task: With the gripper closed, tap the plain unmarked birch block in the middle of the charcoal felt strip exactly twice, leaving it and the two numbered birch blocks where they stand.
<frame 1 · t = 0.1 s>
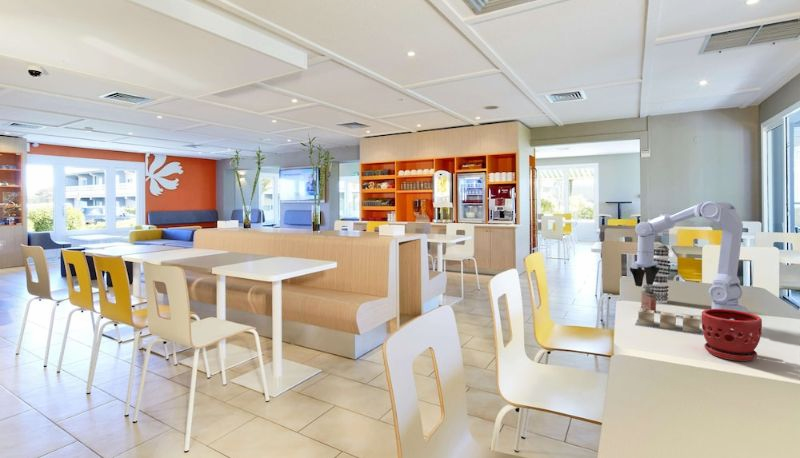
hand: (644, 285, 166), 10 cm above the table, tool pointing down, fingers open, 7 cm apart
decorative candle: (656, 301, 183), on the table
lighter: (648, 311, 165), on the table
plant pot: (728, 356, 115), on the table
felt strip: (667, 327, 142), on the table
block one: (690, 330, 138), resting on felt strip
block seven: (645, 323, 145), resting on felt strip
plain block: (667, 326, 142), resting on felt strip
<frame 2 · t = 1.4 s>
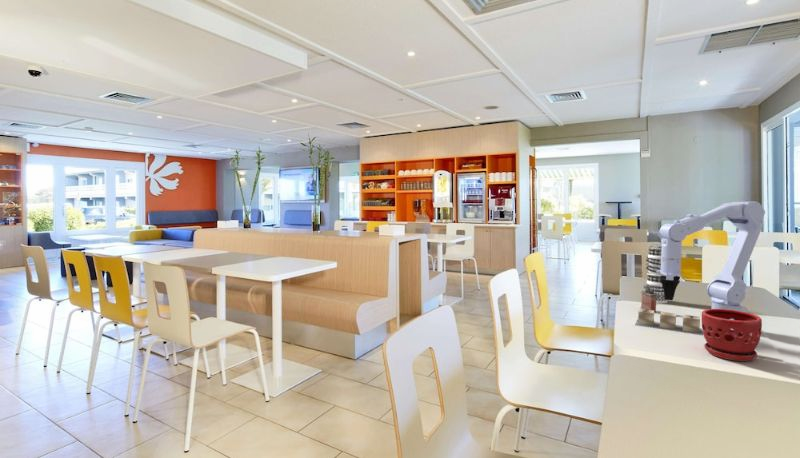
hand: (669, 298, 141), 10 cm above the table, tool pointing down, fingers open, 6 cm apart
nothing on the table moved.
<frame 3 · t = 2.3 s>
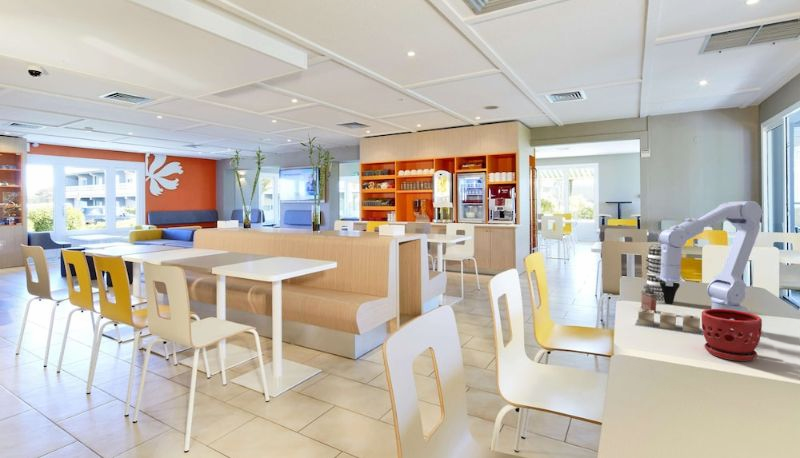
hand: (668, 303, 141), 8 cm above the table, tool pointing down, fingers closed
nothing on the table moved.
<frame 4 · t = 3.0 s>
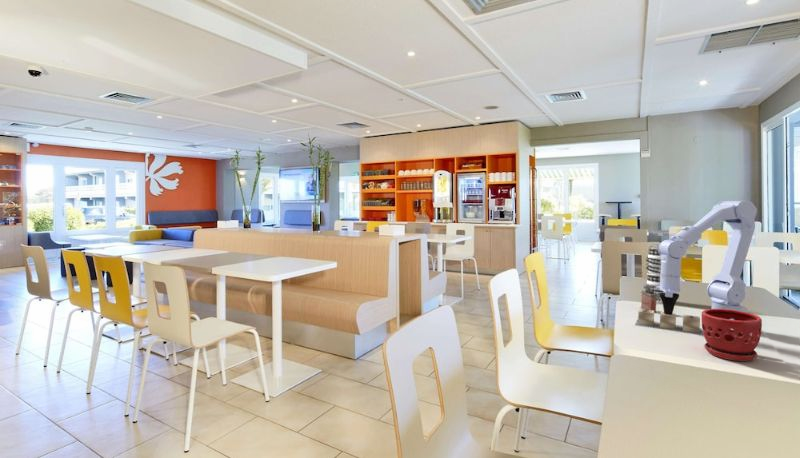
hand: (668, 314, 141), 5 cm above the table, tool pointing down, fingers closed, pressing on plain block
plain block: (667, 326, 142), resting on felt strip, touching gripper
everything else where it was.
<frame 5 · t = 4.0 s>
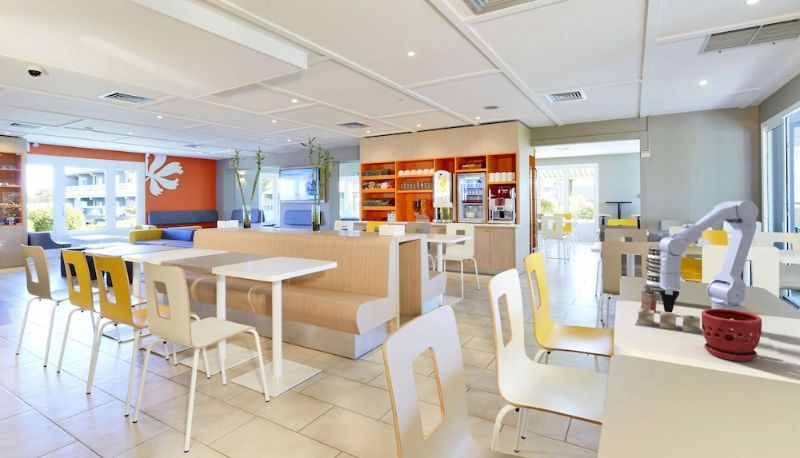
hand: (668, 311, 141), 6 cm above the table, tool pointing down, fingers closed
plain block: (667, 326, 142), resting on felt strip
everything else where it was.
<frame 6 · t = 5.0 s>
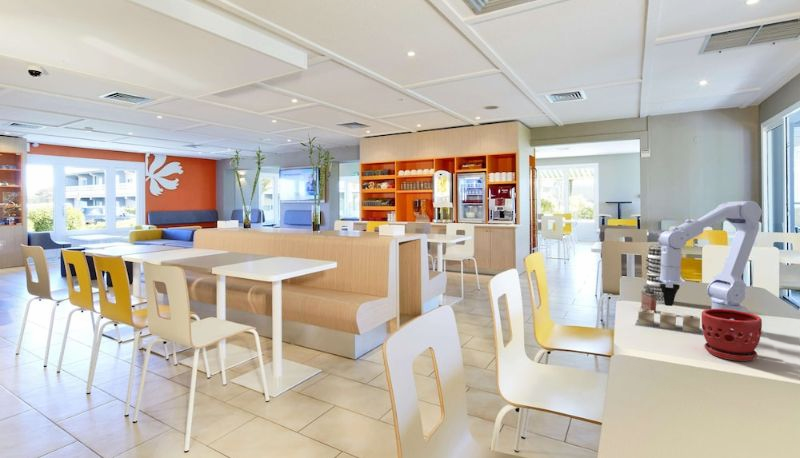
hand: (668, 305, 141), 8 cm above the table, tool pointing down, fingers closed
nothing on the table moved.
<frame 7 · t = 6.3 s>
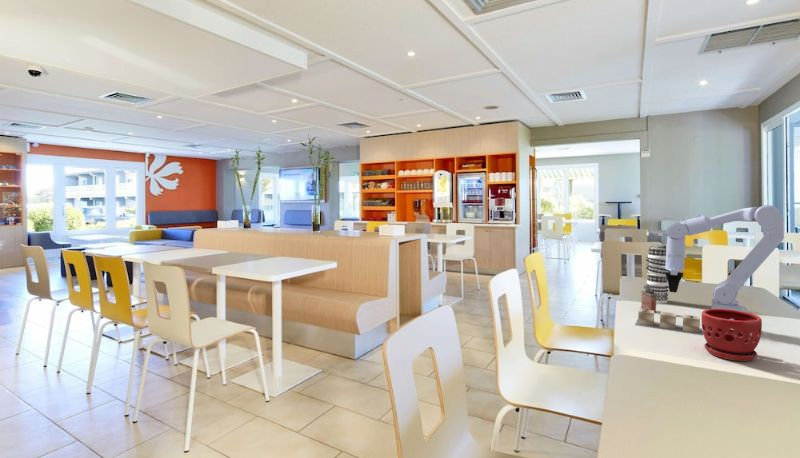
hand: (673, 291, 152), 10 cm above the table, tool pointing down, fingers closed
nothing on the table moved.
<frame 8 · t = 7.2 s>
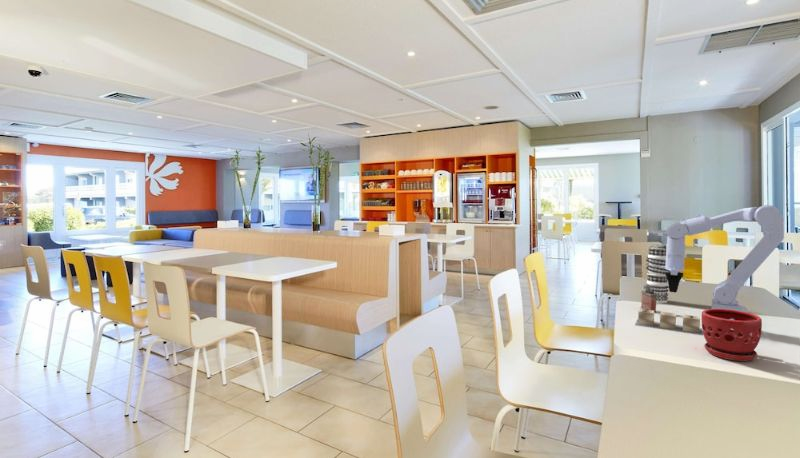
hand: (673, 291, 152), 10 cm above the table, tool pointing down, fingers closed
nothing on the table moved.
at the end: plain block moved 0.0 cm from its start; plain block tilted 0°; plain block touching felt strip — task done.
